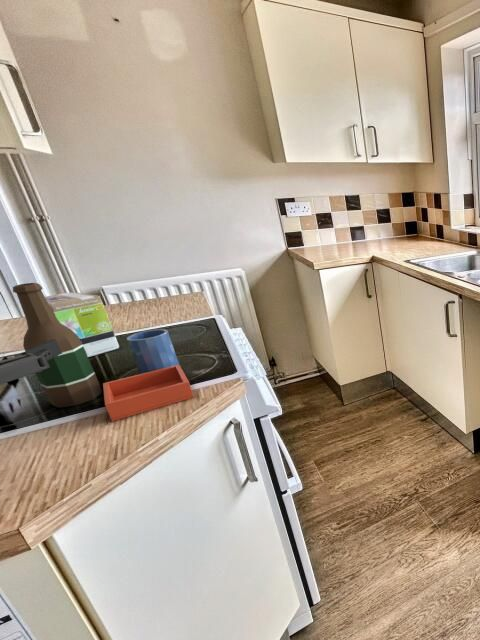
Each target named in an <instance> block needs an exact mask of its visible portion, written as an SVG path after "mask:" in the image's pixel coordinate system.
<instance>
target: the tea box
mask: <svg viewBox="0 0 480 640" xmlns="http://www.w3.org/2000/svg"><path fill="white" fill-rule="evenodd" d="M45 298H46V300H47V302H48V304H49V306H50V308H51V309H52V311H53V313H54V315H55V317H56V318H57V319H58V321H59V322H60V323H61V324H63V325H64V326H66V327H68V328H69V329H71V330H72V331H73V332H74V333H75V334H76V335H77V336H78V337H79V339H80V341H81V343H82V344H83V347H84V349H85V351H86V354H87V356H88V358H91V357H93V356H98V355H101V354H105V353H109V352H111V351H114V350H118V349H119V348H120V345H119V342H118V339H117V337H116V335H115V332H114V329H113V326H112V324H111V321H110V318H109V315H108V313H107V311H106V309H105V305H104V303H103V300H102V298H101V296H100V295H97V294H90V293H83V292H82V293H81V292H74V291H70V292H65V293H58V294H52V295H47V296H45Z"/></svg>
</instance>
